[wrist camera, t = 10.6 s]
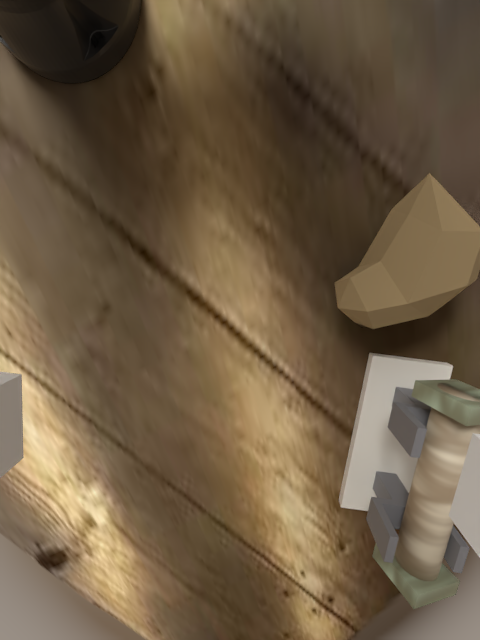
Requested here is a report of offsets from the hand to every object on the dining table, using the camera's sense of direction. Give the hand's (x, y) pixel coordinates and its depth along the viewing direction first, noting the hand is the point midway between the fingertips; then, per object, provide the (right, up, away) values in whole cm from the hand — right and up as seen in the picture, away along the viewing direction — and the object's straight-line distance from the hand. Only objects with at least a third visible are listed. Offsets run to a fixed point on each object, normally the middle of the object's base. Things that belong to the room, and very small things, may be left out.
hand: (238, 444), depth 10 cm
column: (+18, -12, +24) cm, 32 cm away
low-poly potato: (+16, +10, +27) cm, 33 cm away
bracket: (+18, -10, +30) cm, 37 cm away
